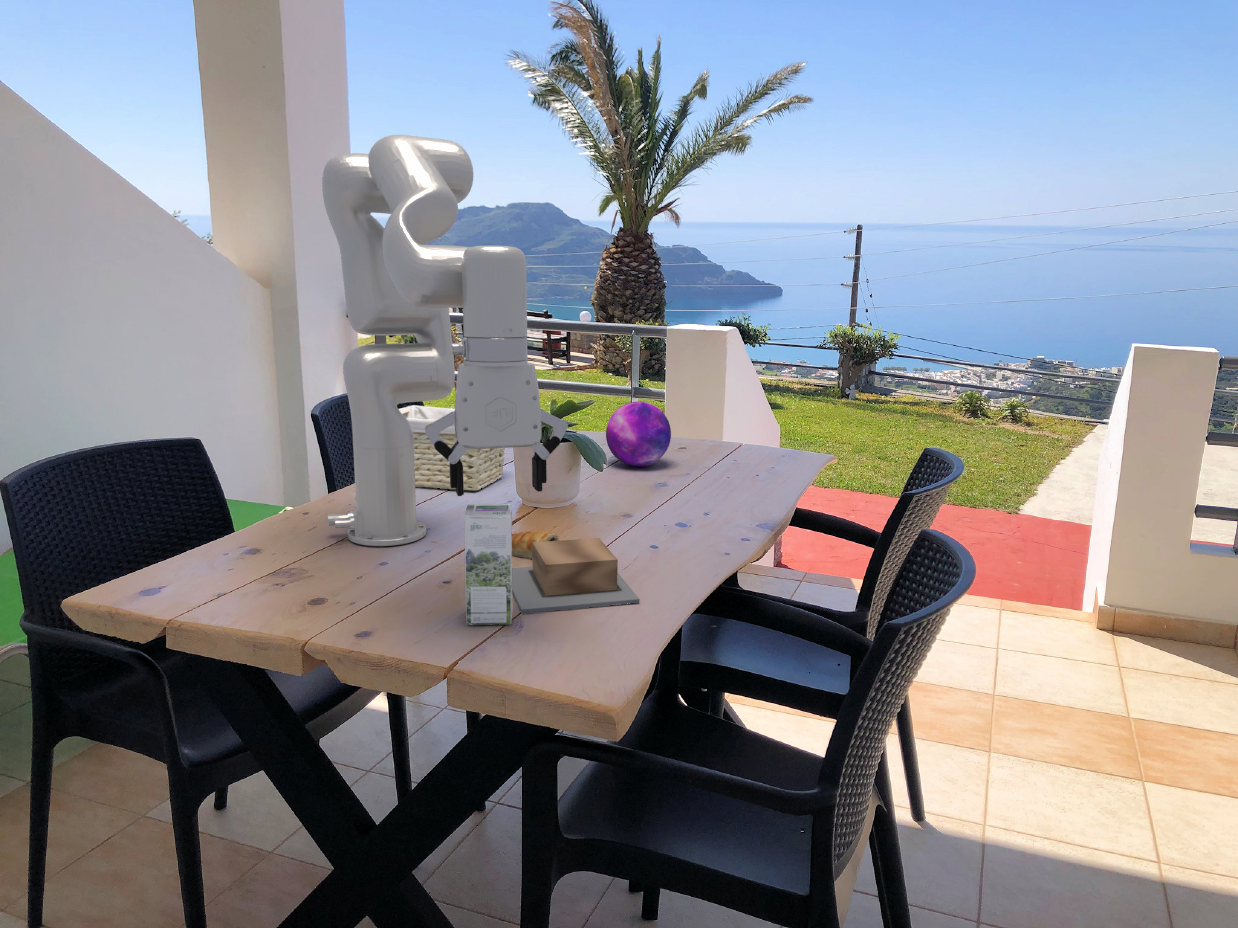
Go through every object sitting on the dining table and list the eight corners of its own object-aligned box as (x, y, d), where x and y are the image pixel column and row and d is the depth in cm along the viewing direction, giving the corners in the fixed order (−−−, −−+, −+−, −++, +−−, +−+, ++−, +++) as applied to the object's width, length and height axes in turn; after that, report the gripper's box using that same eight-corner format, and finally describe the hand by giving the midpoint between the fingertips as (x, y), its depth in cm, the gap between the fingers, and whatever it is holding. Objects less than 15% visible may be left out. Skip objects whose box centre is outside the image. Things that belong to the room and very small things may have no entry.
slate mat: (521, 613, 110) (521, 609, 109) (503, 572, 125) (503, 568, 124) (639, 603, 114) (639, 598, 114) (607, 564, 129) (608, 560, 129)
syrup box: (513, 608, 111) (512, 501, 108) (511, 626, 106) (511, 514, 103) (469, 609, 111) (467, 502, 108) (465, 627, 105) (463, 514, 102)
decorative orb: (671, 474, 189) (673, 407, 186) (604, 472, 190) (605, 406, 186) (668, 459, 204) (671, 398, 201) (606, 458, 204) (607, 396, 201)
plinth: (542, 601, 114) (542, 566, 113) (527, 573, 124) (527, 541, 123) (622, 595, 117) (623, 560, 116) (601, 568, 127) (601, 536, 126)
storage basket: (372, 485, 174) (369, 414, 171) (412, 468, 189) (410, 403, 186) (479, 495, 168) (477, 422, 165) (511, 477, 183) (510, 410, 180)
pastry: (491, 554, 133) (491, 531, 132) (512, 543, 139) (512, 520, 138) (544, 563, 130) (545, 539, 129) (563, 550, 136) (564, 528, 135)
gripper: (423, 355, 95) (429, 502, 99) (573, 353, 100) (573, 494, 104) (420, 351, 102) (425, 488, 106) (560, 349, 107) (560, 481, 111)
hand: (498, 491), depth 105 cm, fingers open, 9 cm apart
